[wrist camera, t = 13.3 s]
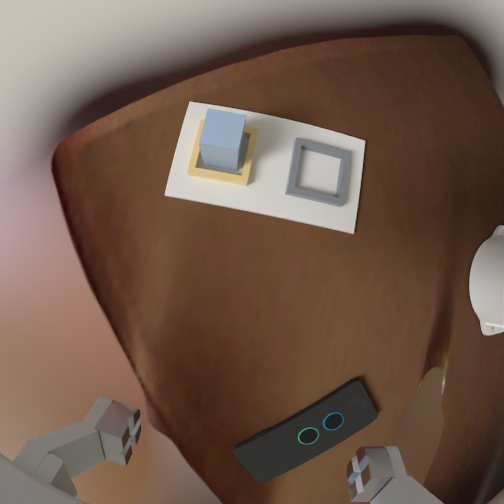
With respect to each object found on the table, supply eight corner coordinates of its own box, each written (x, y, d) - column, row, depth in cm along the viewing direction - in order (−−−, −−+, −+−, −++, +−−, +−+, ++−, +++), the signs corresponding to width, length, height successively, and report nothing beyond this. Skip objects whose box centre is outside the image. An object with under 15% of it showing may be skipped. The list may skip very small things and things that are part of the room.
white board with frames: (363, 142, 40) (369, 137, 38) (351, 233, 39) (357, 232, 37) (190, 103, 38) (188, 96, 36) (165, 195, 38) (162, 192, 36)
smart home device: (380, 418, 38) (260, 485, 37) (375, 413, 40) (259, 478, 38) (359, 378, 38) (230, 450, 37) (354, 373, 40) (230, 444, 38)
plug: (243, 137, 38) (247, 109, 30) (236, 171, 38) (238, 149, 30) (212, 132, 38) (209, 103, 30) (204, 165, 38) (198, 143, 30)
